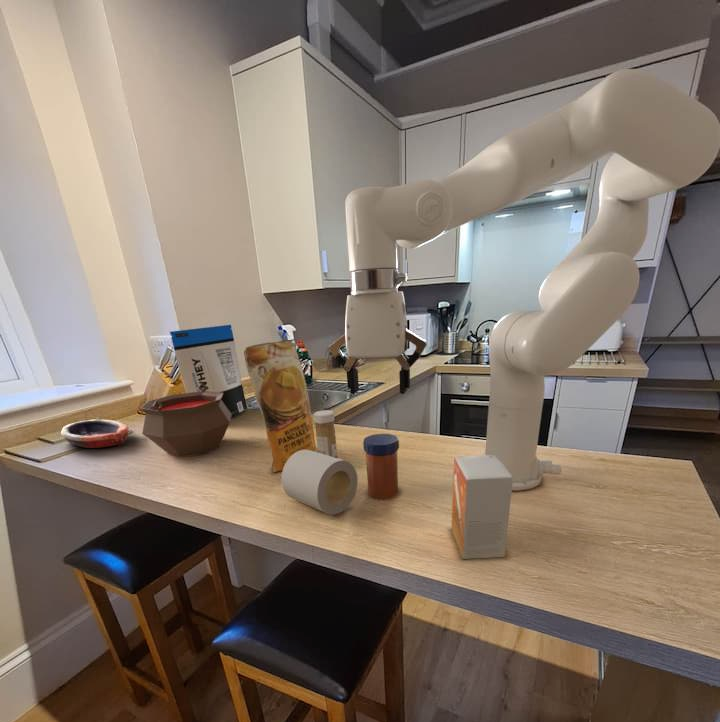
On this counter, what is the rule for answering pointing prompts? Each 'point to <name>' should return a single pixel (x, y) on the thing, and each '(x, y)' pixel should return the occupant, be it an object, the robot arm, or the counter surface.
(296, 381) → the pancake mix bag
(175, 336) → the protein powder
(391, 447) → the lid
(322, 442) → the sprinkles bottle
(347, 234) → the robot arm
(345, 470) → the toilet paper
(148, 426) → the brown faceted pot
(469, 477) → the small box
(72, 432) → the dish
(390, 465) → the jar
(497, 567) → the counter surface
